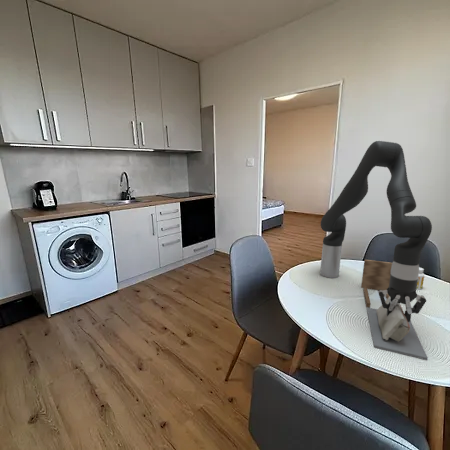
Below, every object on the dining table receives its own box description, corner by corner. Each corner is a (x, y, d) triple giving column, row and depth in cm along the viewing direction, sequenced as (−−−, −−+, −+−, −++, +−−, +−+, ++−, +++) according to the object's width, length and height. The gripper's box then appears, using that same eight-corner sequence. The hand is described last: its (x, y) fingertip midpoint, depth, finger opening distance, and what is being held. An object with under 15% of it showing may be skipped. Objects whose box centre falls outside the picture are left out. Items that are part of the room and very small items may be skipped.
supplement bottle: (417, 284, 123) (420, 266, 120) (424, 290, 117) (428, 270, 115) (405, 284, 123) (408, 265, 121) (412, 289, 118) (415, 270, 116)
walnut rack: (365, 307, 104) (369, 276, 100) (361, 286, 121) (364, 259, 118) (396, 313, 99) (401, 281, 96) (387, 290, 117) (392, 262, 114)
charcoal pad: (373, 347, 81) (374, 345, 81) (366, 309, 103) (366, 307, 102) (427, 360, 76) (427, 357, 76) (407, 316, 97) (408, 315, 97)
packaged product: (396, 348, 82) (416, 327, 78) (381, 338, 83) (401, 317, 79) (387, 318, 97) (404, 299, 94) (375, 310, 99) (391, 292, 95)
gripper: (381, 276, 83) (375, 322, 87) (434, 282, 78) (426, 331, 81) (377, 267, 90) (372, 311, 94) (426, 273, 84) (419, 319, 88)
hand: (397, 320), depth 87 cm, fingers closed on packaged product, 4 cm apart
